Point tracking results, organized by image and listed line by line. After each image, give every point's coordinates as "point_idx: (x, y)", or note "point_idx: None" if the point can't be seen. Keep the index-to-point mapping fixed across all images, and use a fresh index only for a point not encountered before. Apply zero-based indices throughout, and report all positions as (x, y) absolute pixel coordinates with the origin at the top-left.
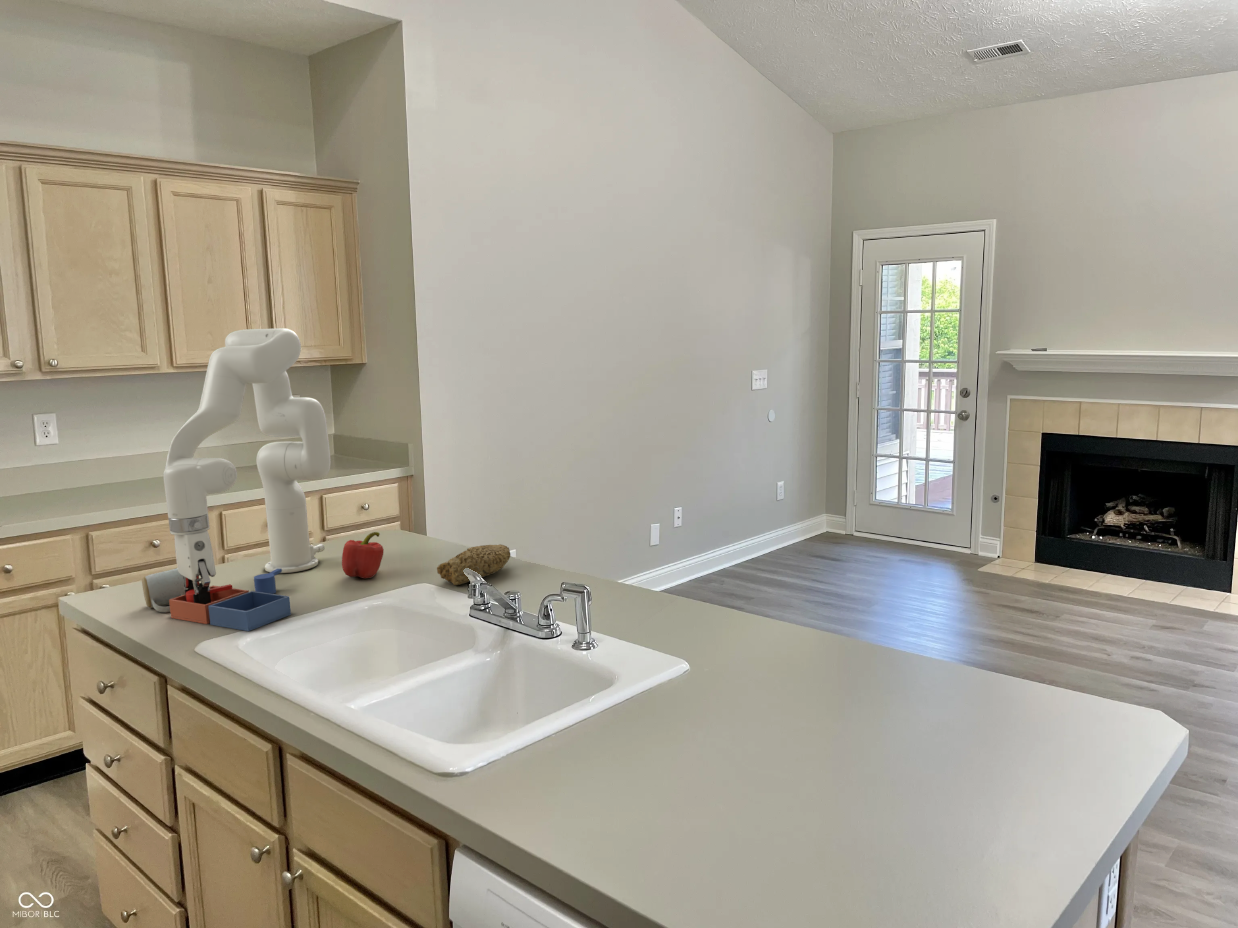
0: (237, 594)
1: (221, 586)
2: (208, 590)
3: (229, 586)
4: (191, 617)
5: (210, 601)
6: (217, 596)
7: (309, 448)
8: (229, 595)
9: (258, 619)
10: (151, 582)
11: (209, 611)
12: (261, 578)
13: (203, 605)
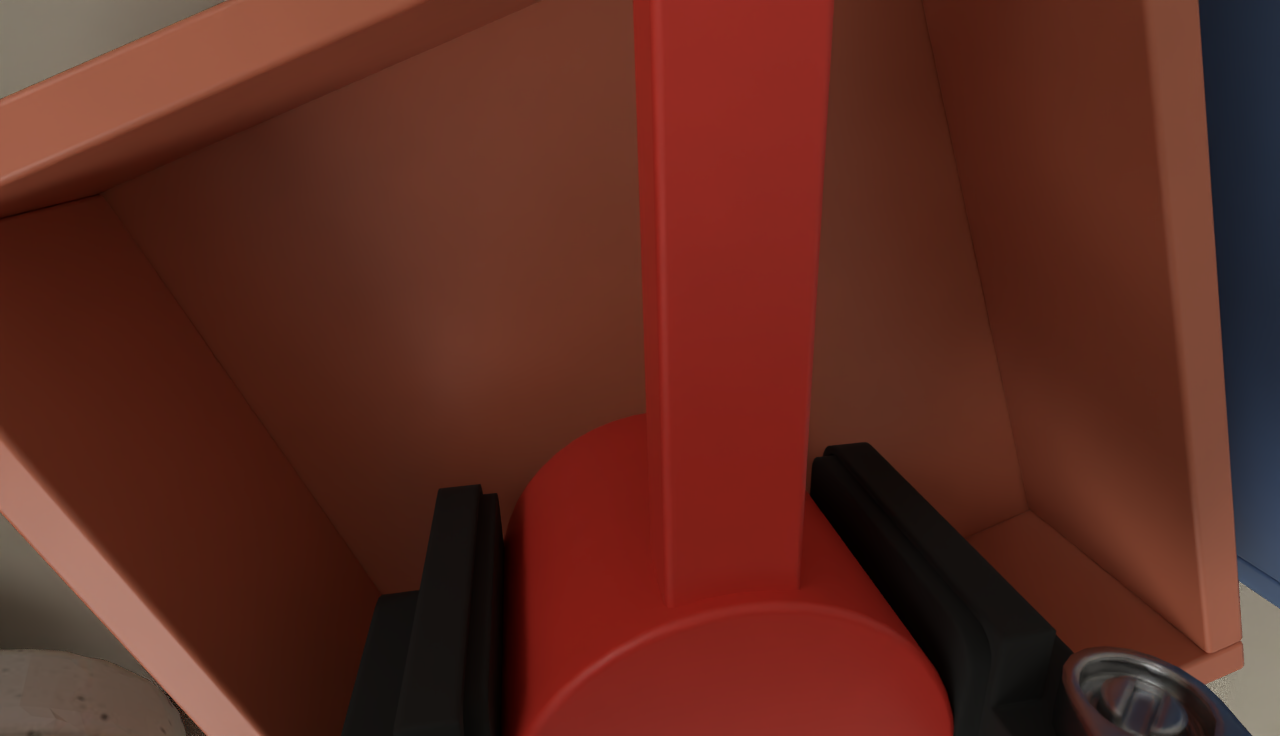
0: (1195, 21)
1: (714, 266)
2: (1188, 706)
3: (819, 48)
4: None
5: (920, 507)
6: (130, 165)
7: None
8: (484, 5)
9: None
10: None
11: (1243, 574)
12: None
13: (1212, 677)
